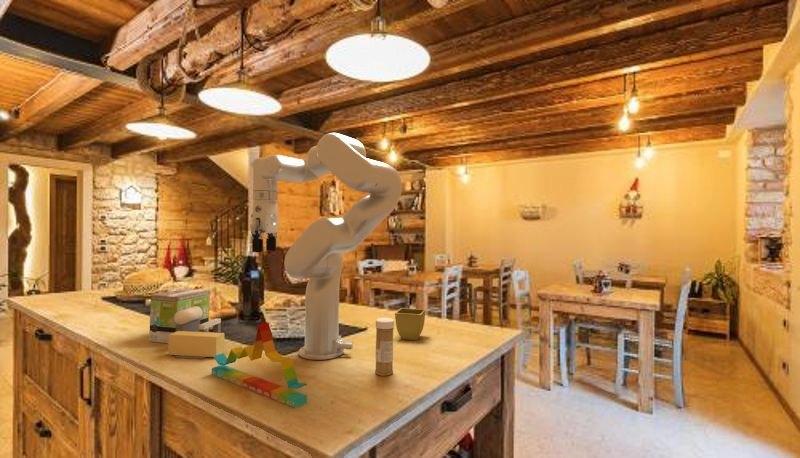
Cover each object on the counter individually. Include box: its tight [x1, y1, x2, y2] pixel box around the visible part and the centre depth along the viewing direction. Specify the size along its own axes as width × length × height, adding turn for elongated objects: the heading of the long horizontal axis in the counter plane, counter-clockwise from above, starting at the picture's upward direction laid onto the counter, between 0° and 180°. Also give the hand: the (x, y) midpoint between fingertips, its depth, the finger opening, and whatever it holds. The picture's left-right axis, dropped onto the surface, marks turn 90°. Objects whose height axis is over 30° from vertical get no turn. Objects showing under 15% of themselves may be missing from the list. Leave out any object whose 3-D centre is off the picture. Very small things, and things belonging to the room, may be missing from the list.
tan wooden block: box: [167, 331, 225, 358], centre depth 111 cm, size 14×4×6 cm, turn 84°
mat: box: [174, 355, 207, 360], centre depth 111 cm, size 8×6×1 cm
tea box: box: [148, 288, 211, 344], centre depth 129 cm, size 15×10×15 cm
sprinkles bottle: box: [374, 317, 395, 377], centre depth 99 cm, size 5×5×14 cm
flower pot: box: [394, 307, 426, 341], centre depth 132 cm, size 9×9×9 cm
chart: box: [211, 322, 308, 409], centre depth 89 cm, size 30×3×15 cm, turn 55°
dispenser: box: [174, 306, 222, 333], centre depth 120 cm, size 9×10×11 cm
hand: (264, 251), depth 126 cm, fingers open, 9 cm apart
